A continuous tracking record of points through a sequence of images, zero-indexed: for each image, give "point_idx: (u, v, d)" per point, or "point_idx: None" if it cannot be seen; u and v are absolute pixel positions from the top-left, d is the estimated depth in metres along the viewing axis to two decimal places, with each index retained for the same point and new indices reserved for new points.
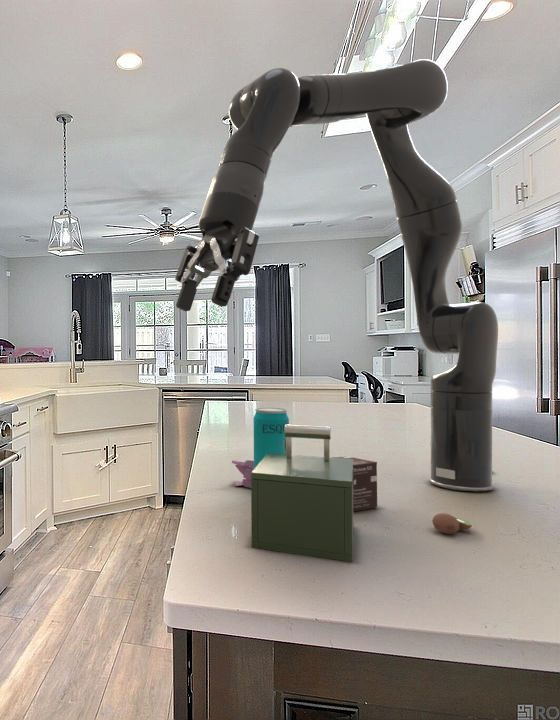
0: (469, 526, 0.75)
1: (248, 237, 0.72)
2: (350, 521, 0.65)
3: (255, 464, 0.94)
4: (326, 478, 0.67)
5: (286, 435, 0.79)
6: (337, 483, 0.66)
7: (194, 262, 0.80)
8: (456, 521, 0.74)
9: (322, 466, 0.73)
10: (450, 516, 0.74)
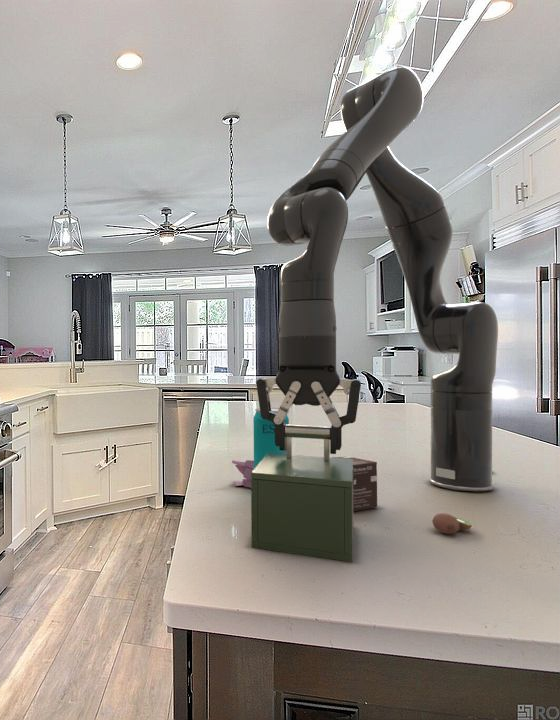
0: (469, 526, 0.75)
1: None
2: (350, 521, 0.65)
3: (255, 464, 0.94)
4: (326, 478, 0.67)
5: (286, 435, 0.79)
6: (337, 483, 0.66)
7: (291, 403, 0.78)
8: (456, 521, 0.74)
9: (322, 466, 0.73)
10: (450, 516, 0.74)
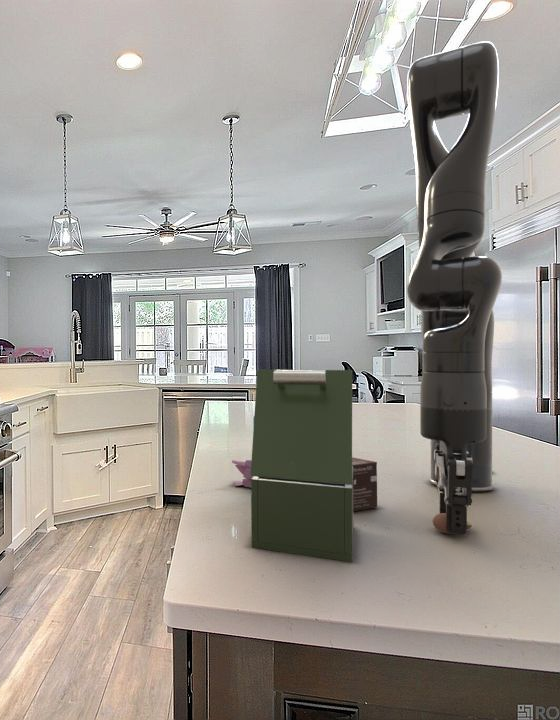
0: (469, 526, 0.75)
1: (456, 471, 0.70)
2: (350, 521, 0.65)
3: None
4: (326, 478, 0.66)
5: None
6: (337, 483, 0.66)
7: (437, 472, 0.78)
8: None
9: (319, 420, 0.69)
10: None
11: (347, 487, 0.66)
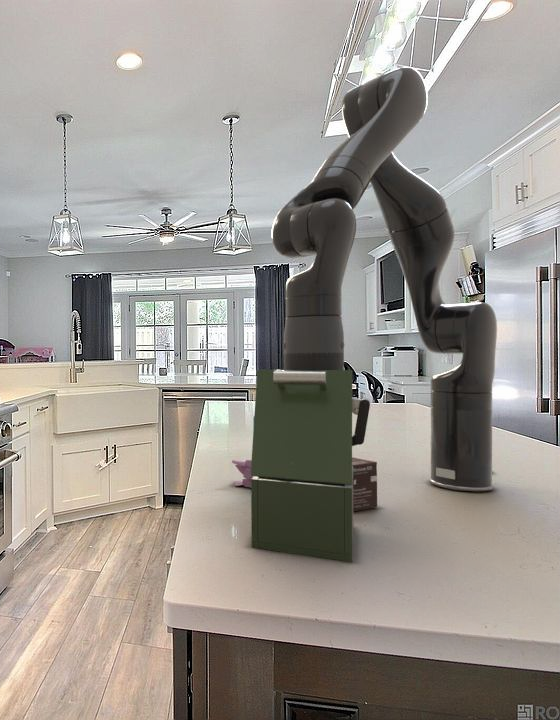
0: None
1: None
2: (350, 521, 0.65)
3: None
4: (326, 478, 0.66)
5: None
6: (337, 483, 0.66)
7: None
8: None
9: (319, 420, 0.69)
10: None
11: (347, 487, 0.66)
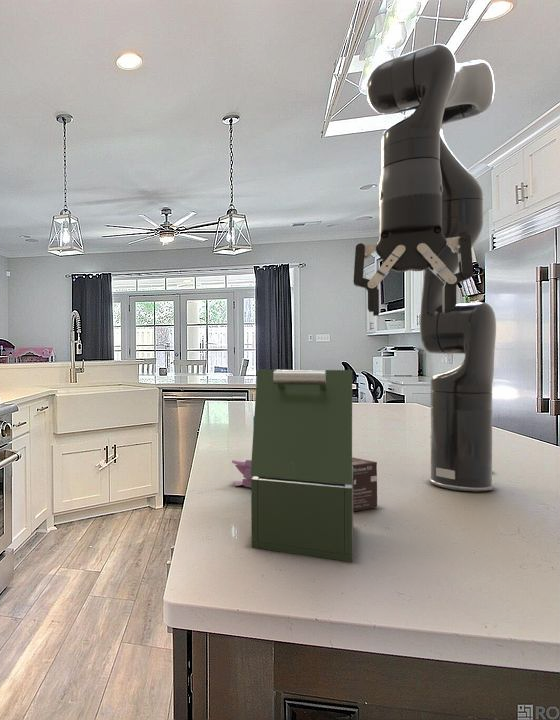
0: None
1: None
2: (350, 521, 0.65)
3: None
4: (326, 478, 0.66)
5: None
6: (337, 483, 0.66)
7: (391, 267, 0.77)
8: None
9: (319, 420, 0.69)
10: None
11: (347, 487, 0.66)
